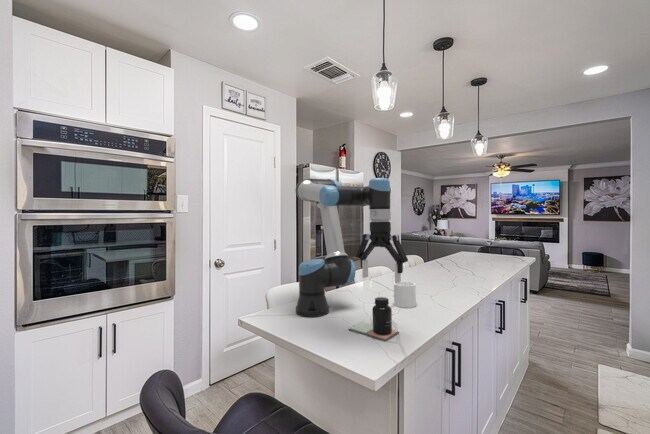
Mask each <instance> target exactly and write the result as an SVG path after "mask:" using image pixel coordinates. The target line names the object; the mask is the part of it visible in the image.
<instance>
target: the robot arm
mask: <svg viewBox="0 0 650 434" xmlns="http://www.w3.org/2000/svg"><path fill="white" fill-rule="evenodd" d="M368 181H369V182H368V185H367V186H349V185H348V186H345V185H344V186H343V185H341V183H340V182H339V181H338V180H337V179H331V178H305V179H302V180H300V181H299V182H298V183H297V184H296V186H295V190H294V191H295V194H296V197H297V198H298V199H299V200H301V201H303V202H310V203H311V202H312V203H316V207H317V208H319V209H320V216H321V222H322V231H323V236H324V237H323V238H324V241H325V248H326V249H325V250H326V256H325V258H324V259H322V258H316V259H315V258H314V259H313V258H312V259H308V260H305V261H302V262H301V263H300V264H299V266H298V272H297V273H298V291H299V295H298V299H297V305H296V307H295V314H296V315H297V316H299V315H300V317H302V318H303V317H304V318H317V317H323V316H326V315H328V314H329V313H330V306H329V304H328V301H327V297H326V291H325V289H326V288H331V287H339V286H340V287H344V286H347V285H351V284H352V283H353V281H354V280H355V277H356V274H357V273H356V263H355V262H354V260H353V259H350V258H349V257H350V256H349V255H348V254H347V253H346V251H345V245H344V240H343V234H342V228H341V222H340V216H339V209H338V207H339V206H340V207H344V206H346V207H367V206H369V221H370V222H369V232H370V234H369V233H363V235H362V241H361V243H360V244H359V248H358V250H357V253H356V256H355V257H356V259H360V268H361V269H362V271H361V272H362V275H361V276H362V279H365V278H368V277H369V259H368V257H369V255H370V254H371V253H372V252H373V250H374V249H375V248H384V249H386V250H387V251H388V253H389V254H390V256H391V257H392V258H393V260H394V262H395V263H394V283H399V282H402V280H401V279H402V277H401V275H402V274H403V273H404V272H403V271H404V267H403V265H404V264H405V263H407V262H408V261H409V259H408V256H407V254H406V252H405V250H404V248H403V246H402V243H401V241H400V235H399V234H394V235H391V231H392V228H391V227H392V225H391V222H390V221H391V219H392V218H391V214H392V212H391V184H390V183H391V182H390V181H391V180H390V179H389V178H386V177H377V178H376V177H374V178H370V179H369V180H368ZM369 240H370V242H369ZM391 241H392V243H391ZM393 246H394V247H393Z"/></svg>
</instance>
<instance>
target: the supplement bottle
mask: <svg viewBox="0 0 650 434" xmlns="http://www.w3.org/2000/svg"><path fill="white" fill-rule="evenodd" d="M374 304H375V305H374V306H373V307H372V309H371V310H372V314H371V315H372V324H373V332H374V333H376V334H378V335H389V334H391V332H392V330H393V326H392V325H393V323H392V320H393V319H392V316H393V315H392V313H393V312H392V307H391V306H390V305H389V304H390V303H389V298H387V297H383V296H380V297H379V296H377V297H375V298H374Z"/></svg>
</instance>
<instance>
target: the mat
mask: <svg viewBox="0 0 650 434" xmlns="http://www.w3.org/2000/svg"><path fill="white" fill-rule="evenodd" d="M347 330H348V331H350V332H352V333H356V334H360V335H363V336H366V337H370V338H372V339H376V340H379V341H383V342H388V341H389V340H390V339H392V338H394V337H395V336H397V335H399V334H400V332H399V330H398V331H397V330H395V329H392V332H391V334H389V335H378V334H376V333H374V332H373V323H372V324H371V323H368V322H364V321H362V322H359V323H357V324H355V325H353V326H351V327H349V328H348V329H347Z"/></svg>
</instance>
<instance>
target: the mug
mask: <svg viewBox="0 0 650 434" xmlns="http://www.w3.org/2000/svg"><path fill="white" fill-rule="evenodd" d="M416 297H417V296H416V283H415V282H411V281H401V282H399V283H395V282H394V283H393V301H394V303H393V304H394V307H397V308H399V309H400V308H401V309H414V308H415V307H416V304H417V302H416Z"/></svg>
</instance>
